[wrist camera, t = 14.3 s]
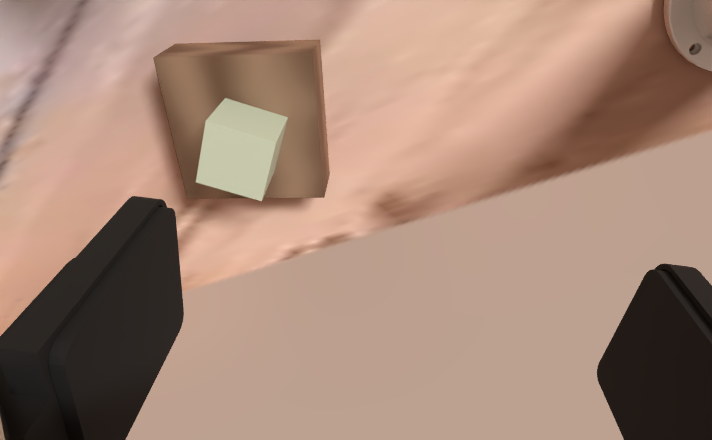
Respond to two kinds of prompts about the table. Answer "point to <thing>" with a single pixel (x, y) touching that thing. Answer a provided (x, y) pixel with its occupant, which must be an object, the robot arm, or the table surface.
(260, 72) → the walnut block
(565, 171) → the table surface
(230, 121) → the cream cube
